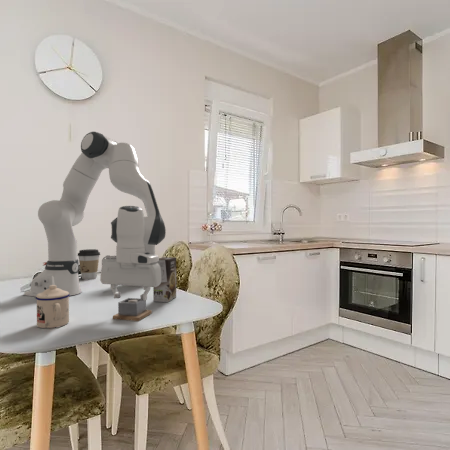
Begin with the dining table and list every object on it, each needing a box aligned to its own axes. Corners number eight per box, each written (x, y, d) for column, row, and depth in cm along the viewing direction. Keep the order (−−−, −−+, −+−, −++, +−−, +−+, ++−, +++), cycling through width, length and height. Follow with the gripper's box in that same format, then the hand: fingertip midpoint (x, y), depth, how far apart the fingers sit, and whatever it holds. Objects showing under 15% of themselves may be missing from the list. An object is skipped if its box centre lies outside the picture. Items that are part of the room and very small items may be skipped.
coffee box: (168, 302, 130) (168, 259, 129) (152, 301, 131) (152, 259, 131) (177, 297, 139) (176, 257, 138) (161, 296, 140) (161, 256, 140)
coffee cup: (73, 280, 177) (72, 250, 177) (85, 276, 189) (85, 249, 188) (93, 280, 176) (93, 251, 175) (104, 276, 187) (104, 249, 187)
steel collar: (118, 315, 109) (118, 302, 109) (128, 309, 115) (128, 297, 115) (136, 316, 108) (136, 303, 108) (146, 310, 114) (146, 298, 114)
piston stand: (112, 319, 108) (112, 303, 108) (127, 311, 117) (127, 296, 117) (139, 320, 106) (138, 304, 106) (151, 313, 115) (151, 298, 115)
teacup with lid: (33, 323, 104) (33, 284, 104) (65, 317, 110) (65, 281, 109) (40, 333, 95) (40, 291, 94) (75, 327, 100) (75, 287, 100)
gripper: (96, 256, 110) (96, 299, 111) (155, 258, 105) (154, 303, 106) (107, 254, 117) (107, 294, 117) (163, 256, 112) (163, 299, 112)
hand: (130, 299), depth 111 cm, fingers open, 8 cm apart
